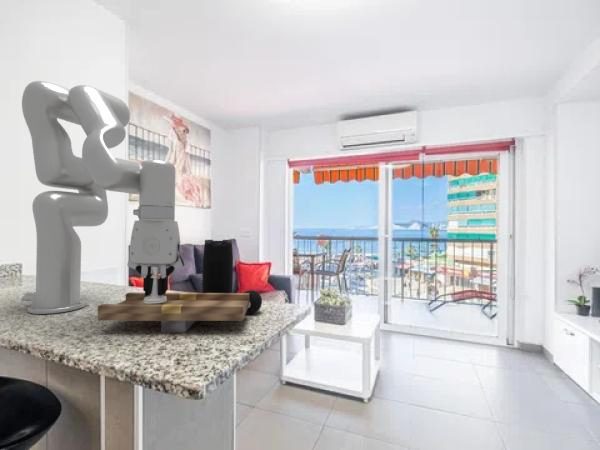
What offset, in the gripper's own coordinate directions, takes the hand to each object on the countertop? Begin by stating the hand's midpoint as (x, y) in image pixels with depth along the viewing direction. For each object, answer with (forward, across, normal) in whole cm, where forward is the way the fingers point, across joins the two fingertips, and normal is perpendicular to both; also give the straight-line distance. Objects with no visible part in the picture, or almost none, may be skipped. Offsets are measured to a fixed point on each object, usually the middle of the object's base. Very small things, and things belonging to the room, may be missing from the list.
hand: (155, 293), depth 71 cm
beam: (+7, +6, 0) cm, 9 cm away
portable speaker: (+7, +11, +16) cm, 21 cm away
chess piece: (+2, 0, 0) cm, 2 cm away
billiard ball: (+7, +21, +10) cm, 24 cm away
